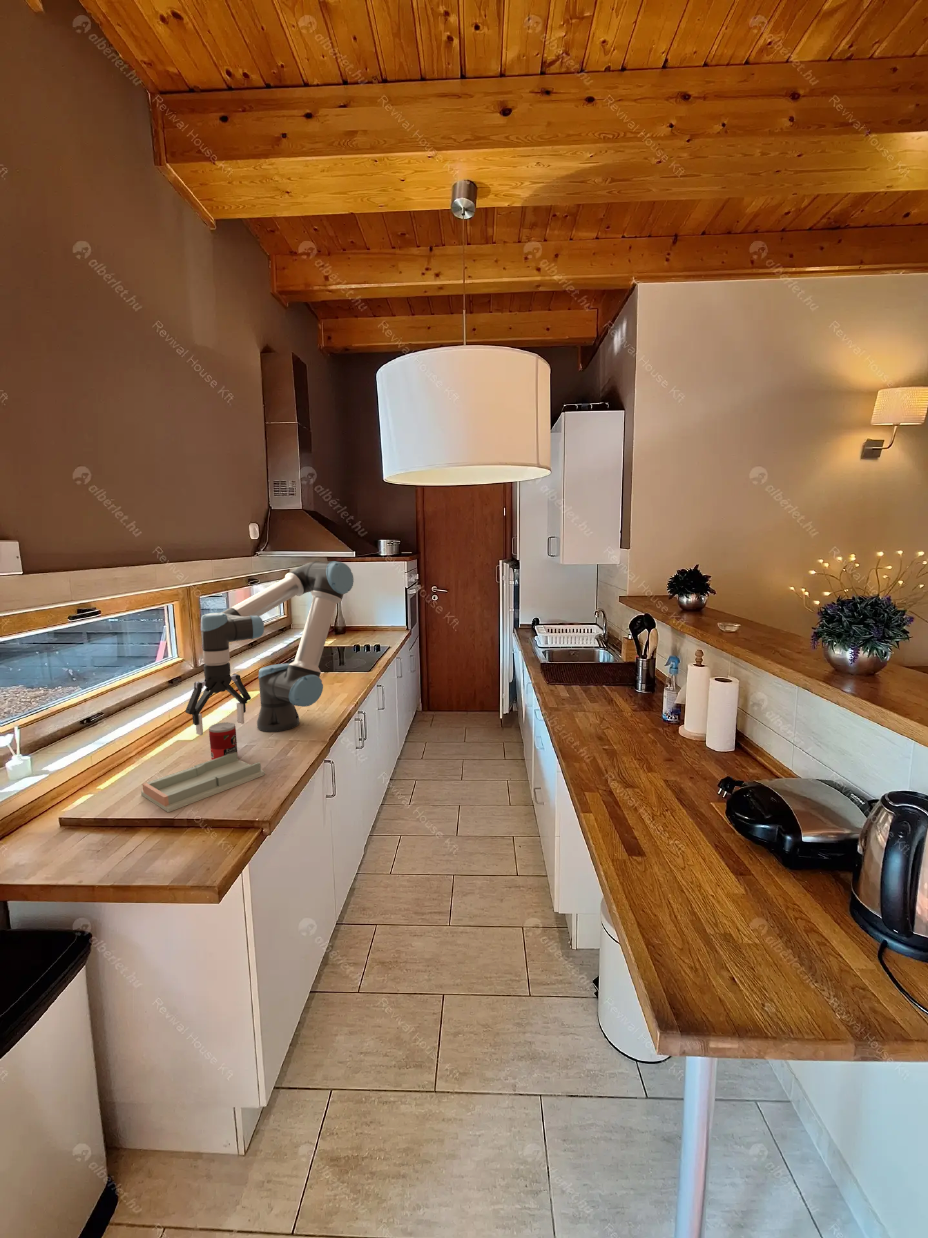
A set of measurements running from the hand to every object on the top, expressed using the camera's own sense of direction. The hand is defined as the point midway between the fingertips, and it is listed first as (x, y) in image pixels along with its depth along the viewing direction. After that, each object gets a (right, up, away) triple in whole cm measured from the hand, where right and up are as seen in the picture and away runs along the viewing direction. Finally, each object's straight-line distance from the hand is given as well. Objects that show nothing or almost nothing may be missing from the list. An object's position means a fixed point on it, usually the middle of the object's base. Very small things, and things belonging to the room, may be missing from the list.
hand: (221, 728), depth 175 cm
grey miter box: (+3, -13, -16) cm, 21 cm away
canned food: (0, -10, +2) cm, 11 cm away
